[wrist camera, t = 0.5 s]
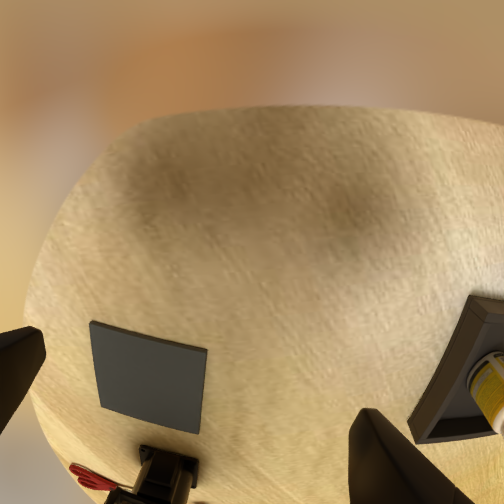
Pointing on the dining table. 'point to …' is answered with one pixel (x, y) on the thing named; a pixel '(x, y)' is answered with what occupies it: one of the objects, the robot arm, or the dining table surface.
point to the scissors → (92, 480)
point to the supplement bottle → (489, 388)
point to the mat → (148, 377)
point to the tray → (460, 378)
